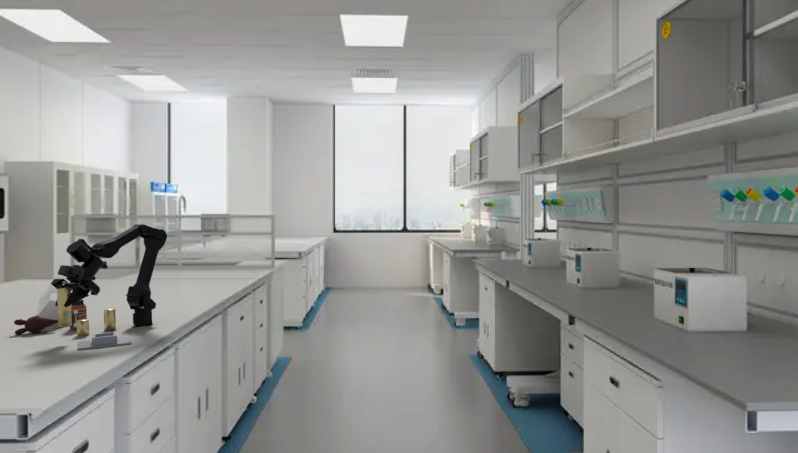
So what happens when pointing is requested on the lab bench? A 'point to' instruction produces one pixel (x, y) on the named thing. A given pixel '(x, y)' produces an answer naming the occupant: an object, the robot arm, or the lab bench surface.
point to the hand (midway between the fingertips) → (60, 306)
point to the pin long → (63, 308)
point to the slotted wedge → (48, 304)
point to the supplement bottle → (78, 313)
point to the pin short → (83, 327)
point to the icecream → (34, 324)
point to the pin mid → (109, 320)
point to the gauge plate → (104, 341)
